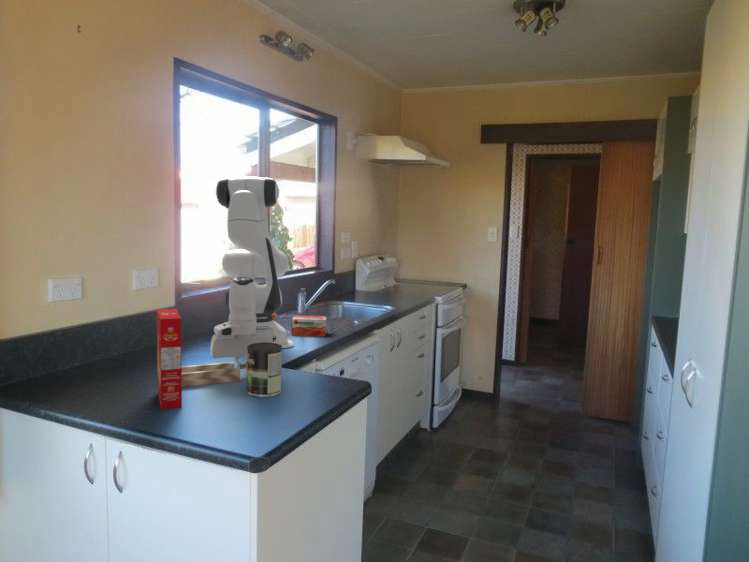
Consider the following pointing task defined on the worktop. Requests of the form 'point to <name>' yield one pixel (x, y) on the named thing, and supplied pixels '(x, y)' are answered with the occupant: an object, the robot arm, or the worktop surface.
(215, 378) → the u-shaped frame
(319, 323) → the medicine box
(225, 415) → the worktop surface
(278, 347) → the coffee can
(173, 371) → the food packaging
